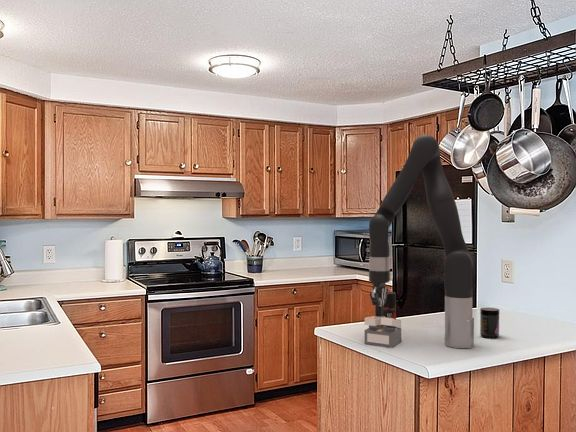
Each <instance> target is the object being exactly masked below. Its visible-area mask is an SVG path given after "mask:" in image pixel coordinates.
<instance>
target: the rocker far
mask: <svg viewBox="0 0 576 432" xmlns="http://www.w3.org/2000/svg"><path fill="white" fill-rule="evenodd" d="M382 317H385V316H375V315H373V316H365V317H364V325H365V326H369V325H371V326H377V325H381V318H382Z"/></svg>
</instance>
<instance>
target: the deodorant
mask: <svg viewBox="0 0 576 432" xmlns="http://www.w3.org/2000/svg"><path fill="white" fill-rule="evenodd" d="M383 316H385V317H387V318H394V319H397V292H395V291H388V294H387V299H386V303H384V306H383ZM381 326H386V325H381ZM392 327H393V326H392Z"/></svg>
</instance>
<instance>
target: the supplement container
mask: <svg viewBox="0 0 576 432" xmlns="http://www.w3.org/2000/svg"><path fill="white" fill-rule="evenodd" d="M479 311H480V312H479V314H480V321H479V324H480V327H479V329H480V330H479V332H480V333H479V335H480V336H481V338H484V339H490V340H495V339H498V338H499V337H500V308H497V307H480V308H479Z"/></svg>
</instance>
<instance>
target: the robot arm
mask: <svg viewBox="0 0 576 432" xmlns="http://www.w3.org/2000/svg"><path fill="white" fill-rule="evenodd" d="M410 149H411V150H410V151H409V154H408V156H407V158H406V161H405V163H404V164H403V167H402V169H401V170H400V172H399V174H398V175H397V177H396V178H395V180H394V182H393V183H392V185H391V186H390V188H389V190H388V191H387V192H386V194H385V196H384V198H383V199H382V202H381V205H380V206H379V208H378V209H377V211H376V213H374V215H373V216H372V217H371V218H370V220H369V224H368V227H369V228H368V231H369V232H368V233H369V242H370V243H369V259H368V281H369V282H370V283H372V285H373V286H372V291H370V292H369V297H370V299H371V304H372V306H374V308H375V310H374V311H375V312H374V314H375V315H374V316H383V306H384V303H386V299H387V294H388V292H389V288H388V287H387V286H386V284H387V283H390V281H391V280H390V279H391V269H390V268H391V264H390V263H391V262H390V244H389V230H390V227H391V225H392V223H393V222H394V220H395V217H396V216H397V213H399V211H401V209H402V207H403V205H404V204H405V202H406V201H407V200H408V199H407V198H408V197H409V195H410V194H411V192H412V189H413V187H414V184H415V183H416V181H417V179H418V178H419V175H420V174H421V173H422V177H423V183H424V191H425V197H426V202H427V205H428V209H429V212H430V216H431V219H432V221H433V223H434V225H435V227H436V230H437V231H438V235H439V236H440V238H441V241H442V245H443V250H444V253H445V254H444V255H445V259H444V264H443V265H444V266H443V279H444V280H443V281H444V283H443V284H444V285H443V286H444V345H445V346H446V347H449V348H454V349H455V348H456V349H472V348H473V346H474V345H475V318H474V317H473V293H474V292H473V290H474V289H473V266H474V259H473V258H472V256H471V253H470V251H469V248H468V246H467V243H466V241H465V238H464V235H463V232H462V225H461V221H460V220H461V219H460V215H459V211H458V207H457V203H456V201H455V196H454V194H453V191H452V188H451V186H450V184H449V181H448V179H447V177H446V175H445V172H444V168H443V164H442V160H441V159H442V158H441V153H440V151H441V150H440V145H439V142H438V141H437V139H436V138H435V137H434V136H432V135H431V134H430V135H429V134H423V135H420V136H419V137H416V139H415V140H414V141H413V143H412V146H411V148H410Z"/></svg>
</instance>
